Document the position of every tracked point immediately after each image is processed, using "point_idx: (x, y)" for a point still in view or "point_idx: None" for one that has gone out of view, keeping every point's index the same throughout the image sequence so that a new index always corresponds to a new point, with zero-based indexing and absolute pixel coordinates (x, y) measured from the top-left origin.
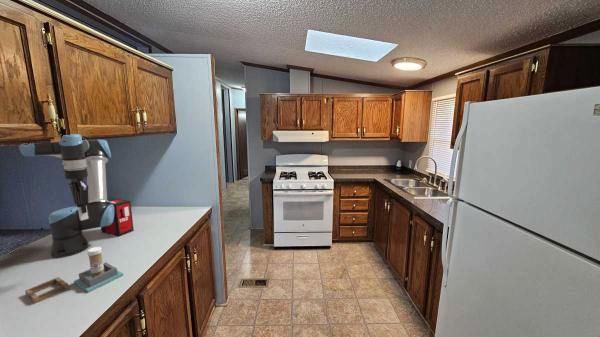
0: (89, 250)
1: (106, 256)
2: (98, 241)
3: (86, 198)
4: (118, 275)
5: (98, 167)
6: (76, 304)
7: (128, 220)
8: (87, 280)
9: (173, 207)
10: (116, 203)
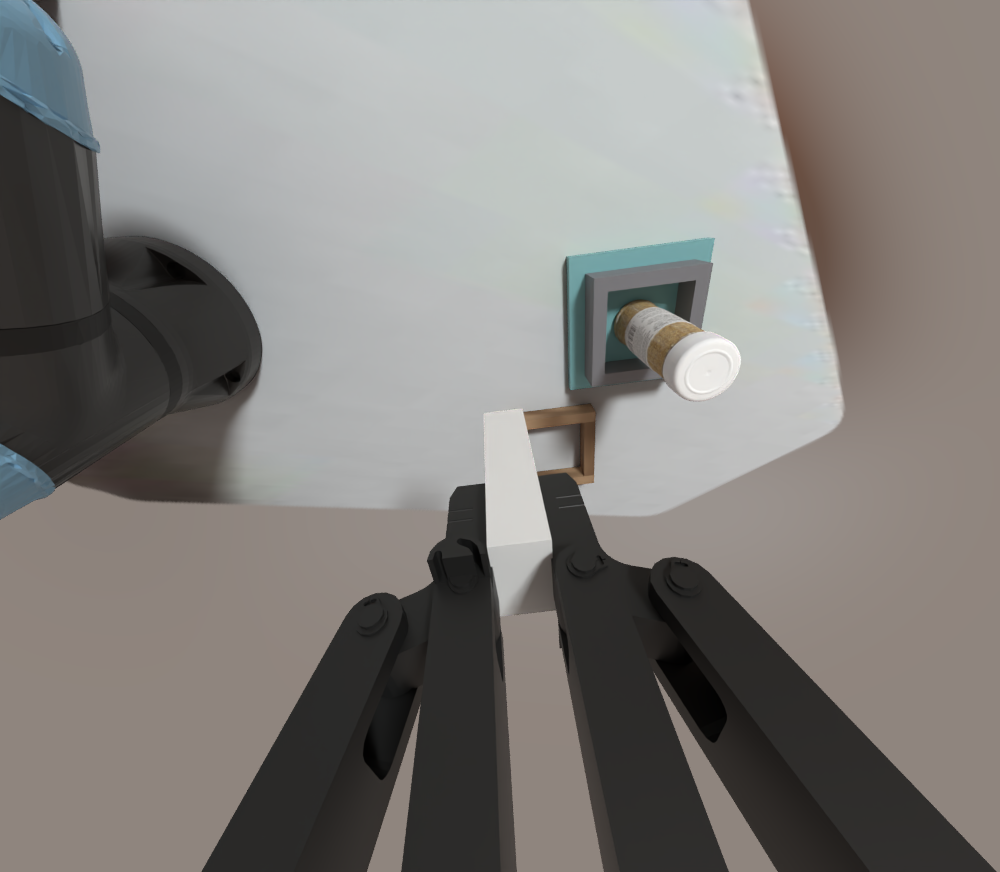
0: (698, 394)
1: (415, 216)
2: (97, 164)
3: (854, 761)
4: (707, 260)
5: None
6: (714, 408)
7: None
8: None
9: None
10: None
